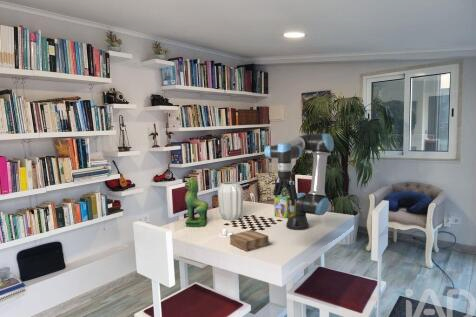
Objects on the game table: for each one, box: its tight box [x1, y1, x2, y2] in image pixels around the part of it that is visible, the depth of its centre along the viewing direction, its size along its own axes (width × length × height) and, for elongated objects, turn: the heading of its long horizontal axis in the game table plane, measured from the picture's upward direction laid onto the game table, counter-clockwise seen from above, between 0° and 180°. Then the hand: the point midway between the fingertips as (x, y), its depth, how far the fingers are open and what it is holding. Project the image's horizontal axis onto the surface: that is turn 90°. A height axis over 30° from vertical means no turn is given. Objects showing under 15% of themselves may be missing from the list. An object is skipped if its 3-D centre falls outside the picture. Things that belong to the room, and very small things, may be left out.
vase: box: [217, 181, 244, 221], centre depth 256 cm, size 20×20×28 cm
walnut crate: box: [229, 229, 270, 253], centre depth 196 cm, size 16×16×6 cm
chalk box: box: [273, 189, 296, 220], centre depth 189 cm, size 9×9×15 cm
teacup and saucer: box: [218, 228, 233, 238], centre depth 215 cm, size 9×8×4 cm
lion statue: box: [184, 176, 209, 228], centre depth 240 cm, size 14×17×35 cm
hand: (285, 209), depth 189 cm, fingers closed on chalk box, 10 cm apart
